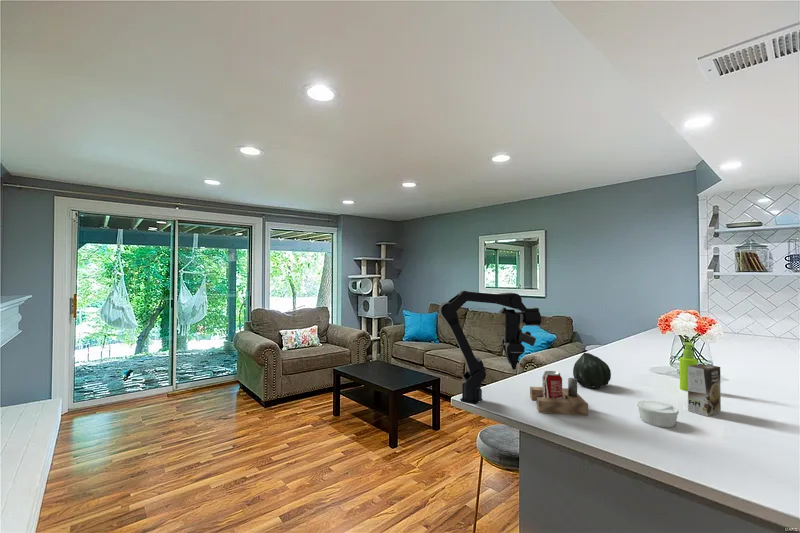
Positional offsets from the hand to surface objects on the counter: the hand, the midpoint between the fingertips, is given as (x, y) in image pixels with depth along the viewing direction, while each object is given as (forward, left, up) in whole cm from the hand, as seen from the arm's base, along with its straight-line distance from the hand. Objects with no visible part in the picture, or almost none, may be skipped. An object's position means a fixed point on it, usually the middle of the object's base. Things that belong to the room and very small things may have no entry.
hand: (512, 366), depth 143 cm
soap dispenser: (+52, +61, -13) cm, 81 cm away
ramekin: (+45, +11, -13) cm, 48 cm away
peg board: (+15, +6, -13) cm, 20 cm away
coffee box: (+57, +33, -13) cm, 67 cm away
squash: (+19, +41, -13) cm, 47 cm away
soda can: (+13, +5, -13) cm, 19 cm away
